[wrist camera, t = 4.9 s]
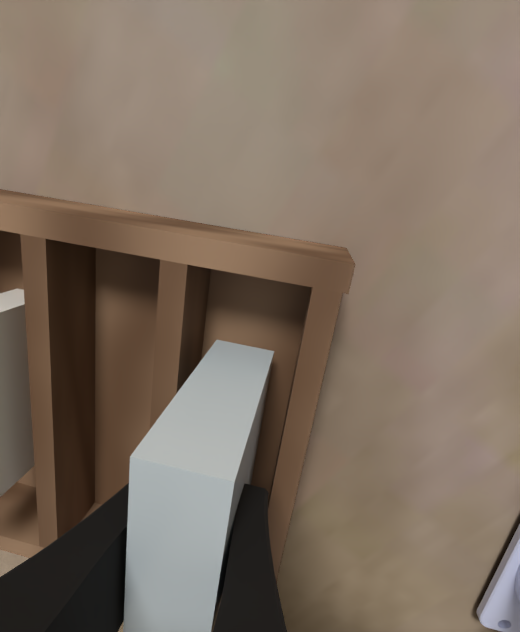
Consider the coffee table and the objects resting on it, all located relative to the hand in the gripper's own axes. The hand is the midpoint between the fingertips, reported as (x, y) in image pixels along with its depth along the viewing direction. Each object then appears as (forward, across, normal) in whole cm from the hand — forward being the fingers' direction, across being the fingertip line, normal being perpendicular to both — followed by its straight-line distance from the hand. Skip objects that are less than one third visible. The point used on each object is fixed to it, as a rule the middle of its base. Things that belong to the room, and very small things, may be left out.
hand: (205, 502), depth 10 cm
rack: (+5, +4, 0) cm, 7 cm away
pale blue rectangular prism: (+3, 0, 0) cm, 3 cm away
